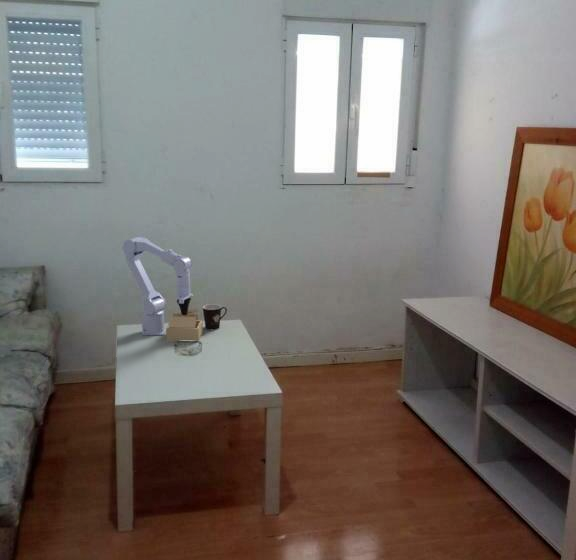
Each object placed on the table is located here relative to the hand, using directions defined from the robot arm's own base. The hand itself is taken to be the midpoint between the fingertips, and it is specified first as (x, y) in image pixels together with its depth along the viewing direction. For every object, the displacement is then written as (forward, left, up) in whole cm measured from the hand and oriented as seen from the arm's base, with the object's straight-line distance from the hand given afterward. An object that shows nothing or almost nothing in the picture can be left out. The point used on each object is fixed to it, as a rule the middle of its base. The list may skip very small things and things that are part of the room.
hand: (184, 314), depth 279 cm
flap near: (0, -4, -2) cm, 5 cm away
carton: (0, 0, -10) cm, 10 cm away
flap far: (0, +4, -2) cm, 5 cm away
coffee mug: (+12, +14, -11) cm, 21 cm away
